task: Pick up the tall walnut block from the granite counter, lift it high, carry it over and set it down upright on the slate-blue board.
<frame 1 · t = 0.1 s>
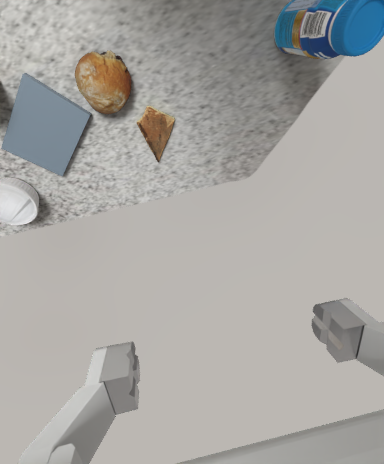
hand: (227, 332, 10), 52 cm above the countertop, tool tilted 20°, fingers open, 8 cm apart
shard: (160, 130, 55), on the countertop
ramekin: (17, 194, 58), on the countertop
slate board: (47, 129, 50), on the countertop
beverage bottle: (292, 27, 46), on the countertop
bread roll: (105, 80, 47), on the countertop
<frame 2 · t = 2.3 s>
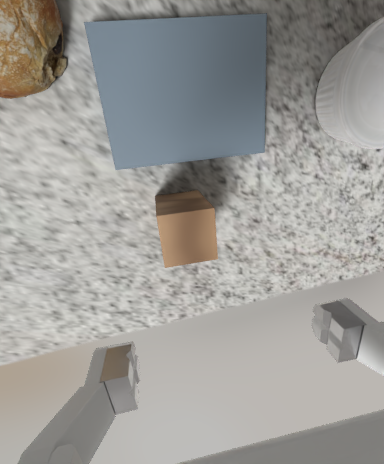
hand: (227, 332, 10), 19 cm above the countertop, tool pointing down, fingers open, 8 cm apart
ramekin: (349, 95, 27), on the countertop
slate board: (184, 98, 24), on the countertop
bread roll: (4, 36, 20), on the countertop
walnut block: (179, 213, 28), on the countertop
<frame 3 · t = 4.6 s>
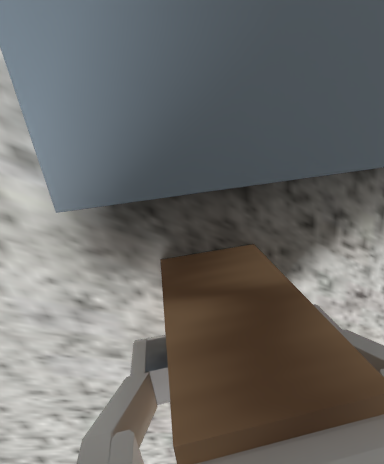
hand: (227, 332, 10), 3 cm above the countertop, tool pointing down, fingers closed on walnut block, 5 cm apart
slate board: (240, 20, 9), on the countertop
walnut block: (211, 291, 13), on the countertop, touching gripper
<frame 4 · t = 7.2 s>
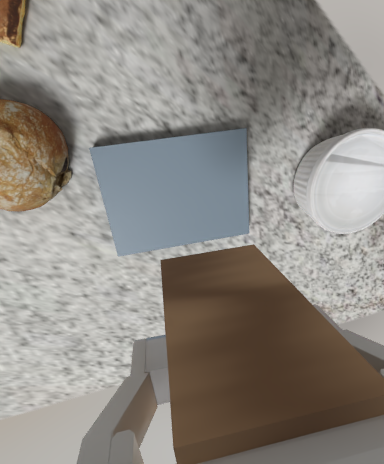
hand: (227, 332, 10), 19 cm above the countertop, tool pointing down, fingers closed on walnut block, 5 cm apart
ramekin: (324, 177, 30), on the countertop
slate board: (177, 192, 27), on the countertop
bread roll: (18, 156, 24), on the countertop
walnut block: (211, 291, 13), point 16 cm above the countertop, touching gripper
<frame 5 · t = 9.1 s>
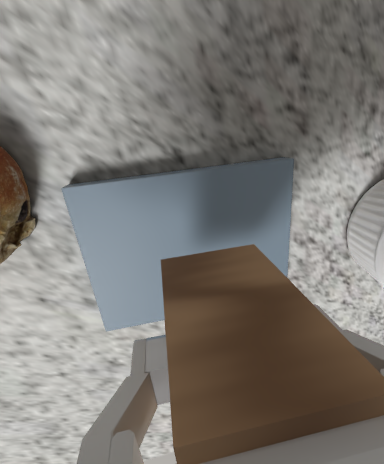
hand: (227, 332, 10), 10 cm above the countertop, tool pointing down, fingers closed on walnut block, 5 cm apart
slate board: (190, 243, 20), on the countertop
walnut block: (211, 291, 13), point 7 cm above the countertop, touching gripper
when the fingers open (6 cm above the countertop, at t = 10.3 s): walnut block drops 1 cm, resting on slate board.
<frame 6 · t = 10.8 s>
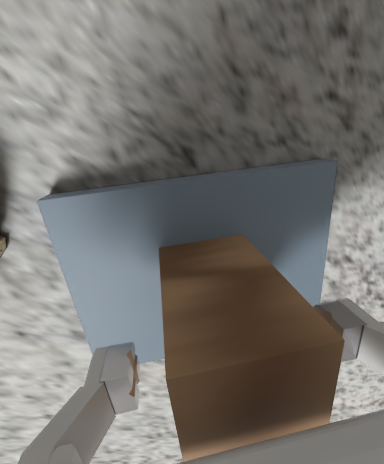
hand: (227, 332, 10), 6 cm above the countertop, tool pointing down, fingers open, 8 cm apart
slate board: (201, 265, 16), on the countertop
walnut block: (205, 277, 15), point 1 cm above the countertop, touching slate board
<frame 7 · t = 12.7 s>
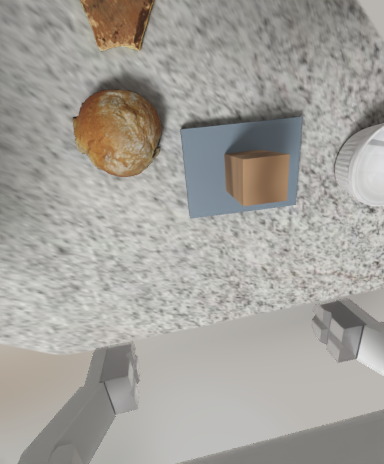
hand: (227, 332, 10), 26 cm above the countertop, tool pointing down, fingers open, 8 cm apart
ramekin: (361, 160, 36), on the countertop
slate board: (240, 168, 34), on the countertop
bread roll: (121, 135, 31), on the countertop
walnut block: (242, 170, 33), point 1 cm above the countertop, touching slate board
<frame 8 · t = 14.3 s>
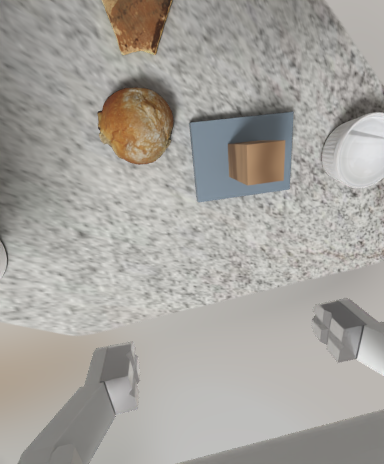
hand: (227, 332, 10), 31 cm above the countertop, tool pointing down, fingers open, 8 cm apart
shard: (137, 7, 30), on the countertop
ramekin: (343, 150, 42), on the countertop
slate board: (240, 158, 39), on the countertop
bread roll: (137, 128, 35), on the countertop
walnut block: (243, 158, 37), point 1 cm above the countertop, touching slate board
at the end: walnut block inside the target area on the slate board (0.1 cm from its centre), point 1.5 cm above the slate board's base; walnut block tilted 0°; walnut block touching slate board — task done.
